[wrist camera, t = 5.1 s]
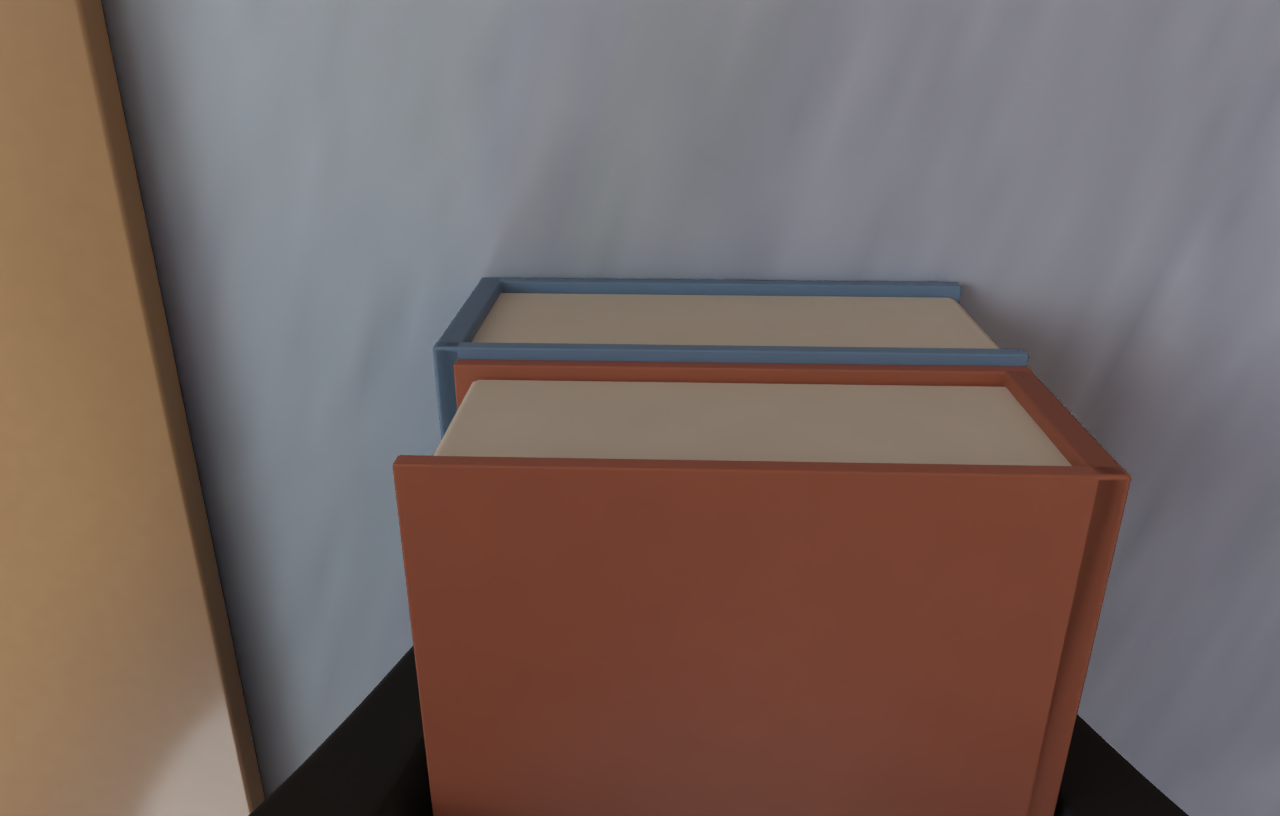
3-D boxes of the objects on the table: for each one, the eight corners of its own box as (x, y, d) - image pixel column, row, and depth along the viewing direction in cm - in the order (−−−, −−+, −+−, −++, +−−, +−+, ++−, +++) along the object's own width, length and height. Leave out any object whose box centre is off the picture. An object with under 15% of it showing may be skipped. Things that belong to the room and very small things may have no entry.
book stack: (522, 887, 14) (462, 1236, 10) (481, 277, 10) (359, 450, 6) (874, 897, 13) (952, 1259, 10) (958, 281, 10) (1135, 461, 6)
